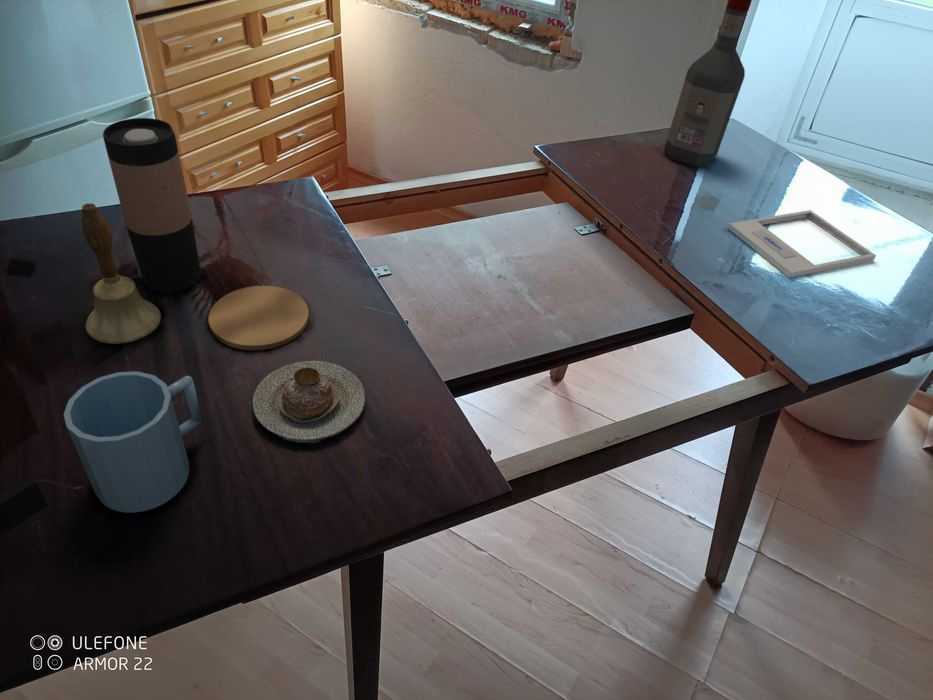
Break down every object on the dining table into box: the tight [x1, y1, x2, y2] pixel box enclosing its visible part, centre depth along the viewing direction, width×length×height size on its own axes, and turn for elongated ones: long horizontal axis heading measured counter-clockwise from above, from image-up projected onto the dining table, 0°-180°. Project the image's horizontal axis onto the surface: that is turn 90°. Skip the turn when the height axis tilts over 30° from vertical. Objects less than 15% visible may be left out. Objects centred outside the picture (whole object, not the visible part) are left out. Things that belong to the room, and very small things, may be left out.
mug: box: [63, 371, 203, 514], centre depth 64 cm, size 11×8×10 cm
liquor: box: [663, 0, 753, 168], centre depth 125 cm, size 9×9×30 cm
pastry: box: [252, 360, 366, 444], centre depth 74 cm, size 12×12×5 cm
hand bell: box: [81, 202, 162, 345], centre depth 77 cm, size 8×8×16 cm
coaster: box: [207, 285, 310, 351], centre depth 85 cm, size 12×12×1 cm
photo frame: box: [727, 209, 877, 279], centre depth 111 cm, size 15×1×18 cm
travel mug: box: [102, 117, 201, 293], centre depth 84 cm, size 8×8×20 cm
